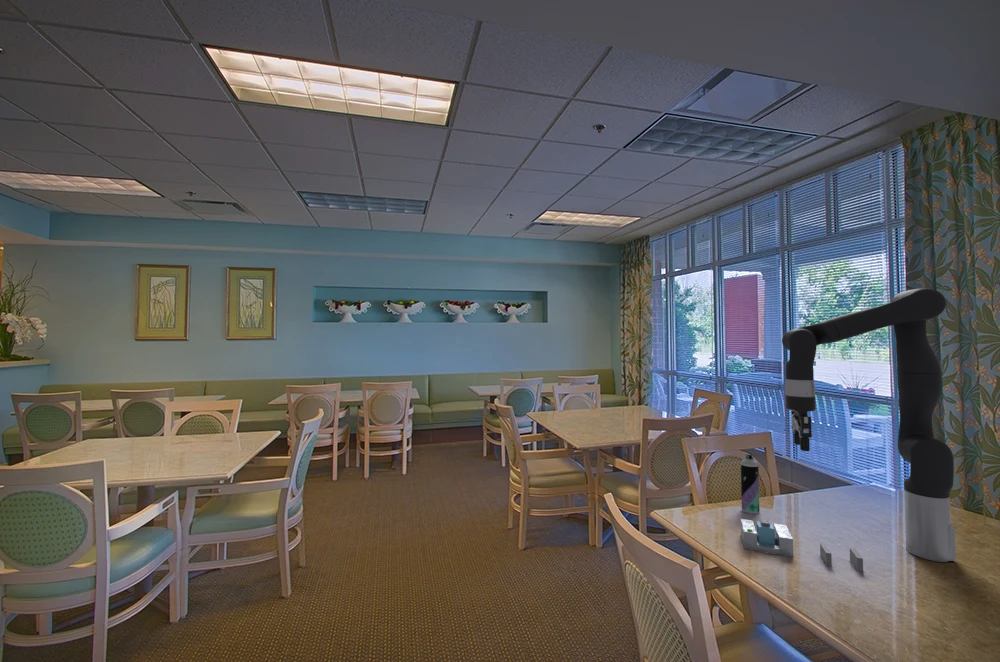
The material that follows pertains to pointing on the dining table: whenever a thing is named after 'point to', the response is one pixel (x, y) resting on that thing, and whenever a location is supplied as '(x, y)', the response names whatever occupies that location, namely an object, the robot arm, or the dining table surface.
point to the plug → (765, 532)
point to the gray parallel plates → (854, 556)
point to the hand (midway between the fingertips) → (801, 447)
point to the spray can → (750, 485)
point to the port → (781, 540)
